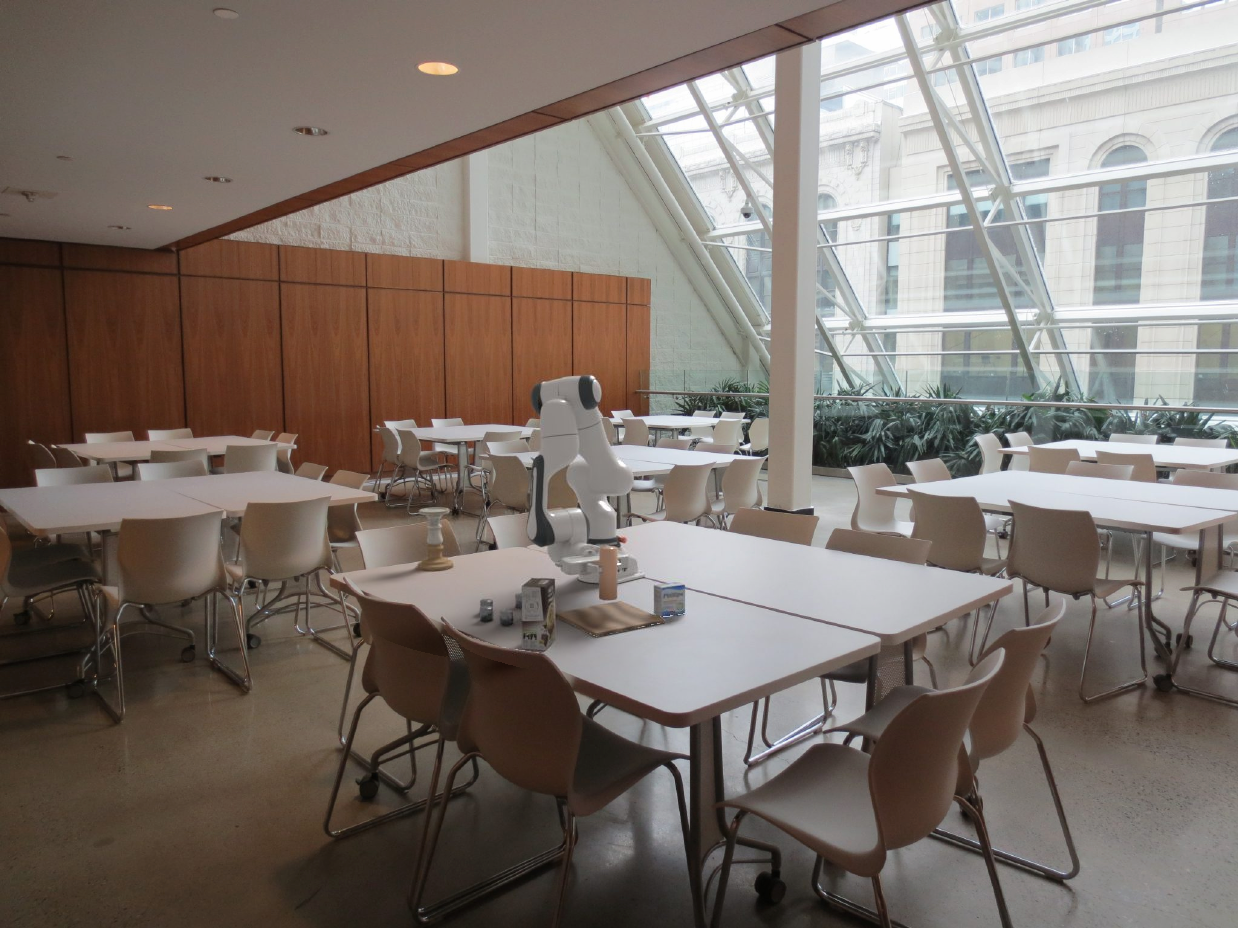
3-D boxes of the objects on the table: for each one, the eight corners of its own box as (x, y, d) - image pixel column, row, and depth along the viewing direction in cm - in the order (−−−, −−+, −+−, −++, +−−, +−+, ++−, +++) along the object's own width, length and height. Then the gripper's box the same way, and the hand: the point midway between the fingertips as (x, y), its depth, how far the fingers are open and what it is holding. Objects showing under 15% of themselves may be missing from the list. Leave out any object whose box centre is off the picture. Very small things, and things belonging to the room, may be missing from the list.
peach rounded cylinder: (610, 594, 237) (611, 545, 236) (620, 598, 233) (621, 548, 231) (595, 597, 234) (596, 547, 233) (605, 601, 230) (605, 550, 229)
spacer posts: (533, 602, 251) (533, 591, 251) (564, 618, 236) (564, 605, 235) (468, 613, 240) (468, 601, 239) (496, 630, 224) (496, 617, 224)
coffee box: (546, 651, 209) (545, 587, 207) (521, 649, 210) (520, 585, 208) (556, 639, 218) (556, 577, 216) (532, 637, 219) (531, 576, 217)
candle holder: (436, 561, 304) (435, 505, 302) (460, 565, 297) (459, 509, 295) (409, 567, 294) (408, 510, 292) (434, 572, 287) (432, 514, 285)
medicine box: (661, 618, 236) (661, 587, 235) (653, 614, 240) (653, 584, 239) (685, 614, 240) (685, 584, 239) (677, 610, 244) (677, 580, 243)
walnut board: (620, 604, 250) (620, 600, 250) (664, 623, 232) (664, 619, 231) (554, 616, 238) (554, 612, 238) (596, 637, 219) (596, 633, 219)
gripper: (552, 552, 237) (577, 561, 226) (613, 544, 249) (640, 553, 237) (551, 574, 238) (577, 584, 227) (613, 565, 249) (640, 575, 238)
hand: (610, 568), depth 232 cm, fingers closed on peach rounded cylinder, 5 cm apart
